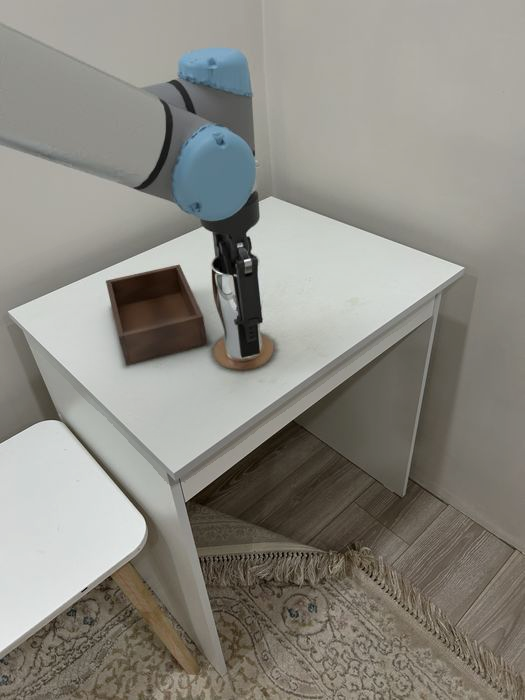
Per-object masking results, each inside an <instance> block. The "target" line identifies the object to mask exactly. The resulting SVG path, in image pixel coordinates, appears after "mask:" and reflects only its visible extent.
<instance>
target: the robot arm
mask: <svg viewBox="0 0 525 700" xmlns="http://www.w3.org/2000/svg"><path fill="white" fill-rule="evenodd" d="M177 69H178V70H177V78H174V79H171V80H169V81H166V82H161V83H156V84H151V85H147V86H141V87H138V86H136V85H134V84H132V83H130V82H127V81H125V80H123V79H121V78H119V77H117V76H115V75H113V74H110V73H108V72H106V71H104V70H102V69H100V68H98V67H96V66H93V65H91V64H89V63H88V62H86V61H83V60H82V59H79V58H77V57H75V56H72V55H70V54H68V53H67V52H64V51H62V50H60V49H58V48H56V47H54V46H51V45H49V44H47V43H45V42H43V41H41V40H39V39H37V38H35V37H32V36H30V35H28V34H26V33H24V32H22V31H20V30H17V28H14V27H12V26H9V25H7V24H6V23H3V22H1V21H0V146H2V147H5V148H9V149H11V150H15V151H18V152H20V153H24V154H27V155H30V156H33V157H36V158H39V159H42V160H45V161H48V162H51V163H54V164H58V165H60V166H64V167H67V168H71V169H74V170H77V171H80V172H82V173H86V174H88V175H92V176H95V177H97V178H100V179H104V180H108V181H110V182H113V183H117V184H120V185H123V186H126V187H128V188H131V189H133V190H136V191H139V192H141V193H144V194H147V195H150V196H153V197H156V198H158V199H163V200H165V201H169V202H171V203H173V204H175V205H177V207H178V208H180V210H181V211H183V212H184V213H186V214H188V215H192V216H194V217H196V218H198V219H199V220H200V224H201V226H202V227H203V228H204V229H205V230H206V231H208V232H211V233H212V241H213V250H214V258H215V257H216V256H217V255H218V257H219V260H221V264H222V273H227V274H229V275H231V276H233V282H234V289H235V297H236V305H237V311H238V316H239V318H237V319H234V323H235V325H237V327H238V336H239V345H240V354H241V357H242V358H244V357H248V356H252V355H256V354H259V353H260V348H259V335H258V324H259V323H260V324H262V323H263V320H264V318H263V313H262V312H263V311H261V301H260V291H259V282H258V259H257V257H256V256H251V253H252V250H253V245H252V239H251V237H250V236H249V235H248V234H247V233H248V231H250V230H251V229H252V228H253V227H255V226H256V225H257V224H258V222H259V221H260V218H261V217H260V216H261V215H260V201H259V200H260V199H259V193H258V191H257V189H258V178H257V169H258V168H259V167H260V165H261V162H260V160H259V159H256V142H255V126H254V110H253V109H254V108H253V98H254V94H253V90H252V82H251V72H250V69H249V61H248V59H247V57H246V55H245V54H244V53H243V52H242V51H241V50H238V49H237V48H231V47H205V48H197V49H194V50H193V49H192V50H190V51H189V52H185V53H183V54H182V55H181V56H179V58H178V60H177ZM235 274H237V277H236V276H234V275H235Z"/></svg>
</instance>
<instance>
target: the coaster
mask: <svg viewBox="0 0 525 700" xmlns="http://www.w3.org/2000/svg"><path fill="white" fill-rule="evenodd" d="M260 334H261V337H262V340H263V344H264V349H263V352H262V353H261V355H260V356H258V357H257V358H255V359H253V360H250V361H235V360H232V359H230V358H228V357H227V356H226V355H225V353H224V337H222V338H221V339H219V341H217V343H216V344H215V346H214V349H213V354H214V355H213V356H214V359H215V361H216V362H217V363H218V364H219V365H220V366H222V368H223V367H224V368H226V369H227V370H231V371H237V372H239V371H241V372H243V371H250V370H255V369H257V368H258V369H259V368H260V367H262V366H263V365H265V364H267V363H268V362H269V361H270V360H271V358H272V357H273V355H274V344H273V342H272V341H271V339H270V338H269V337H268V336H266V335H265V334H262V332H260Z"/></svg>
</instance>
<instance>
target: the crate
mask: <svg viewBox="0 0 525 700" xmlns="http://www.w3.org/2000/svg"><path fill="white" fill-rule="evenodd" d="M105 285H106V289H107V293H108V297H109V302H110V306H111V310H112V315H113V319H114V325H115V328H116V332H117V337H118V340H119V344H120V347H121V350H122V354H123V358H124V362H125V365H126V366H129V365H134V364H137V363H141V362H146V361H149V360H152V359H156V358H160V357H164V356H169V355H172V354H176V353H181V352H184V351H188V350H192V349H196V348H200V347H204V346H208V344H209V343H208V337H207V331H206V325H205V324H206V323H205V319H204V315H203V313H202V311H201V309H200V308H201V307H200V306H199V304H198V301H197V299H196V297H195V295H194V293H193V291H192V288H191V286H190V284H189V282H188V279H187V278H186V275H185V273H184V271H183V269H182V266H181V265H180V264H176V265H170V266H166V267H162V268H157V269H151V270H147V271H143V272H138V273H133V274H129V275H125V276H120V277H115V278H112V279H107V280H105Z"/></svg>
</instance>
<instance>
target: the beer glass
mask: <svg viewBox="0 0 525 700" xmlns="http://www.w3.org/2000/svg"><path fill="white" fill-rule="evenodd" d="M251 256H256V257H257V259H258V282H259V291H260V301H261V311H262V309H263V301H264V286H263V285H264V284H263V277H262V269H261V264H260V263H261V262H260V258H259V256H258V255H257V254H255V253H254V252H251ZM210 270H211V271H210V272H211V273H210V275H211V289H212V295H213V300H214V304H215V308H216V311H217V314H218V317H219V319H220V323H221V326H222V330H223V335H224V336H223V338H224V353H225V355H226V356H227V357H228V358H230V359H232V360H235V361H250V360H253V359H255V358H257V357H258V356H260V355H261V353H262V352H263V349H264V344H263V340H262V337H261V334H262V333H261V327H260V326H261V323H259V324H258V335H259V348H260V353H259V354H256V355H252V356H248V357H244V358H242V357H241V354H240V345H239V336H238V327H237V325H235V323H234V319H237V318H239V316H238V311H237V305H236V297H235V289H234V282H233V276H231V275H229V274H227V273H222V264H221V260H219V257H218V255H217V256H216V257H215V256H214V257H213V258H212V260H211V262H210ZM234 276H236V277H237V274H235V275H234ZM262 312H263V311H262ZM260 333H261V334H260Z"/></svg>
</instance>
